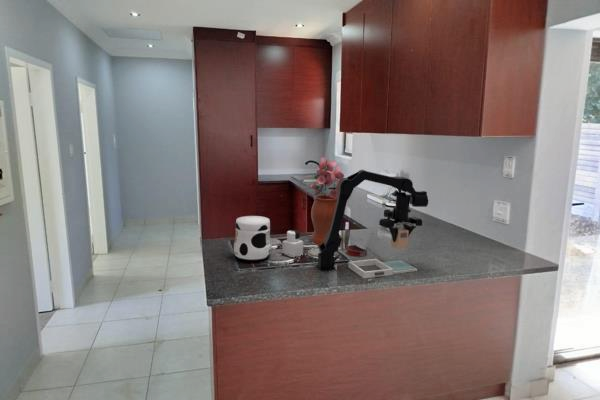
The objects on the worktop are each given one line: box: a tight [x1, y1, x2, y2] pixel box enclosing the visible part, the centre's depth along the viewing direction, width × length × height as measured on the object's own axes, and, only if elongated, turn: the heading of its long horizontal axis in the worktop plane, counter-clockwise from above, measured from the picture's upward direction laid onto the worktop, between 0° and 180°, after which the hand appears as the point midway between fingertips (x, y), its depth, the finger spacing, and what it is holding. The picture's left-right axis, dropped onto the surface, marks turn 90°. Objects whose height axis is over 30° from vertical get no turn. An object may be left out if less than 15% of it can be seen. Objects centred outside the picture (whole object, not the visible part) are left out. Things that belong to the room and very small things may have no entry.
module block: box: [390, 227, 409, 250], centre depth 177 cm, size 5×5×8 cm
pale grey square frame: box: [347, 258, 394, 279], centre depth 174 cm, size 14×15×2 cm
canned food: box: [345, 235, 368, 258], centre depth 198 cm, size 11×10×10 cm
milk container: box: [233, 215, 272, 262], centre depth 186 cm, size 17×17×18 cm
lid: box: [381, 259, 418, 275], centre depth 180 cm, size 13×12×1 cm
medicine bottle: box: [282, 229, 304, 257], centre depth 192 cm, size 7×7×12 cm
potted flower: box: [309, 156, 345, 246], centre depth 213 cm, size 19×25×45 cm
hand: (399, 241), depth 178 cm, fingers closed on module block, 5 cm apart
